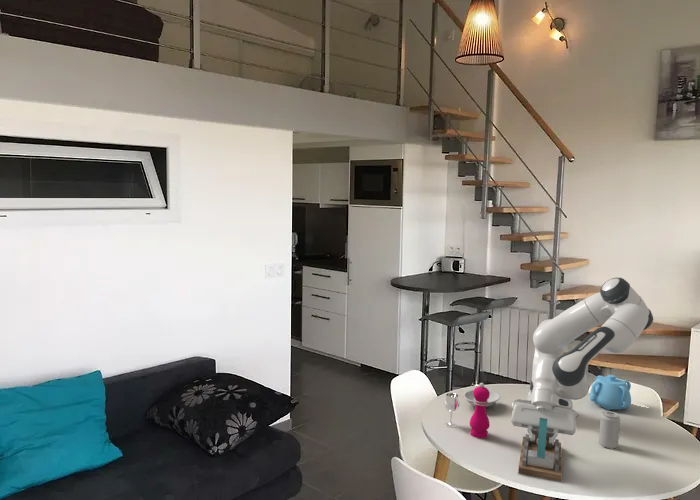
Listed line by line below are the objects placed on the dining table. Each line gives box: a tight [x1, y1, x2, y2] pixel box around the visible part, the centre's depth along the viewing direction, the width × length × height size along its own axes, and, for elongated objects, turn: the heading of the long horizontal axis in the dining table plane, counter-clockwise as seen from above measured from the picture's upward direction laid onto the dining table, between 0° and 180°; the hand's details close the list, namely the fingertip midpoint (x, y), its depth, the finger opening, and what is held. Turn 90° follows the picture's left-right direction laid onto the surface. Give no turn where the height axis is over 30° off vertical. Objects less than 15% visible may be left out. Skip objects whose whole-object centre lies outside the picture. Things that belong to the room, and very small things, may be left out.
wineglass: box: [443, 392, 460, 429], centre depth 225 cm, size 6×6×12 cm
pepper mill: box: [469, 382, 490, 439], centre depth 216 cm, size 7×7×20 cm
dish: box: [462, 389, 501, 408], centre depth 246 cm, size 18×14×5 cm
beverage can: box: [598, 410, 621, 449], centre depth 211 cm, size 6×6×12 cm
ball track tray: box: [518, 429, 562, 482], centre depth 198 cm, size 26×13×7 cm, turn 160°
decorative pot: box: [589, 374, 632, 411], centre depth 252 cm, size 16×16×14 cm
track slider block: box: [527, 418, 554, 469], centre depth 190 cm, size 5×8×15 cm, turn 70°
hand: (541, 442), depth 189 cm, fingers open, 4 cm apart
